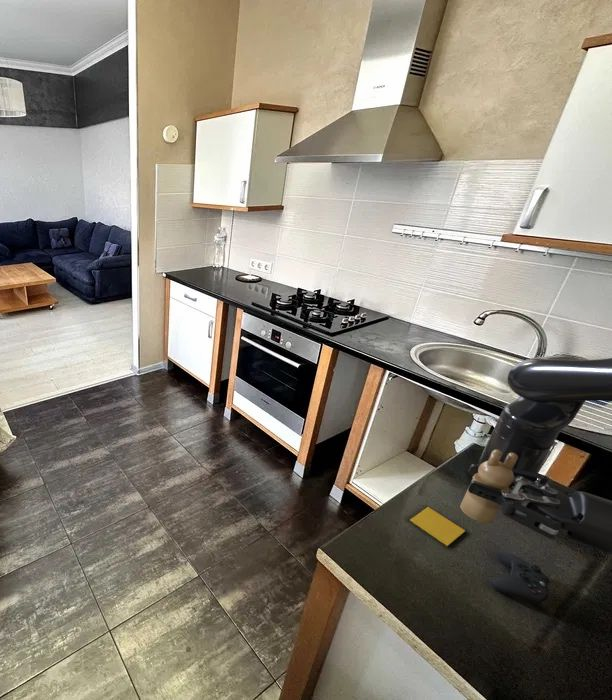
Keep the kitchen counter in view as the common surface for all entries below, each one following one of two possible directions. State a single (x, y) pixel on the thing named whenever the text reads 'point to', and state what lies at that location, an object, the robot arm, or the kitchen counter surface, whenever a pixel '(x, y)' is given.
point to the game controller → (522, 580)
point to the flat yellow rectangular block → (437, 526)
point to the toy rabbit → (493, 476)
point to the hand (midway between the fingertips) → (470, 477)
